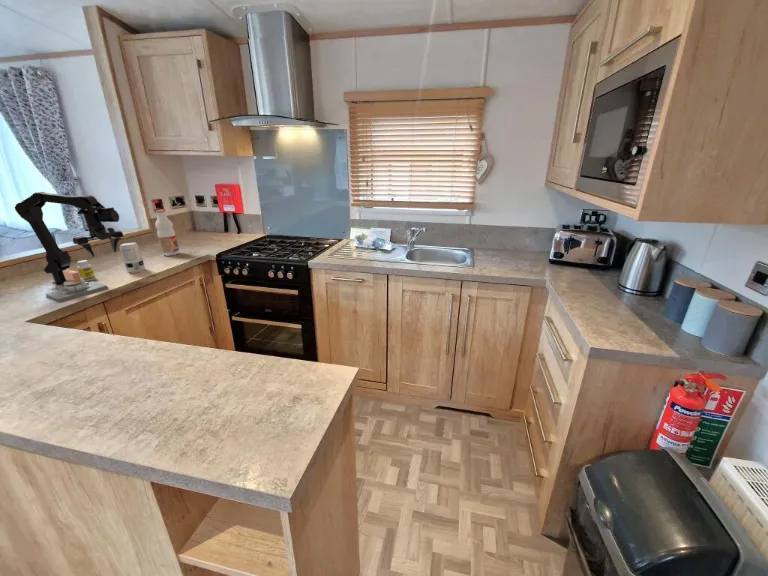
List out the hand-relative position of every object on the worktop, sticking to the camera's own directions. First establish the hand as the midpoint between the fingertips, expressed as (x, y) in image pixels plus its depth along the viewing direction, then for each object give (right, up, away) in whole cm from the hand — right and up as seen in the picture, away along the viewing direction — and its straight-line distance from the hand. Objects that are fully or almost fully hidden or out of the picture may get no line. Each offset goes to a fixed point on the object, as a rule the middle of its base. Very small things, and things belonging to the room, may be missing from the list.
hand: (104, 254), depth 166 cm
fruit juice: (+3, +5, +48) cm, 49 cm away
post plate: (-2, -19, -12) cm, 23 cm away
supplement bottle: (-12, -13, +5) cm, 18 cm away
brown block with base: (-2, -17, -13) cm, 21 cm away
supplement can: (+3, -7, +17) cm, 19 cm away
